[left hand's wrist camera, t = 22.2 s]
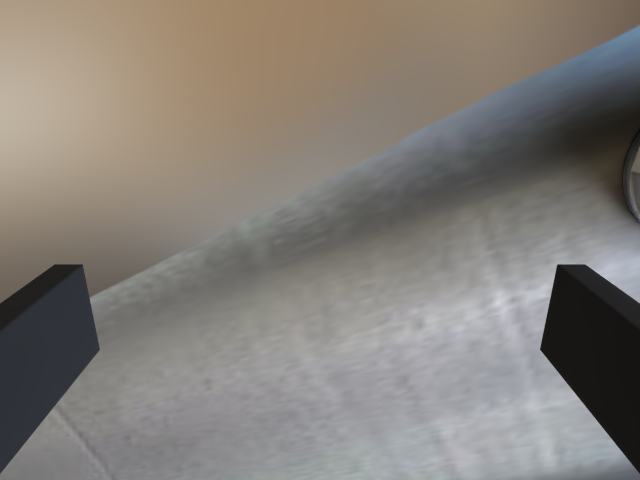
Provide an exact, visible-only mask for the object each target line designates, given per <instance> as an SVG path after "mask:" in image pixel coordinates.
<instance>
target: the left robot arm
mask: <svg viewBox="0 0 640 480" xmlns="http://www.w3.org/2000/svg"><path fill="white" fill-rule="evenodd" d="M623 191H624V196H625V200H626V202H627V205H628V207H629V209H630V211H631V212H632V213H633V215H634V216H635V217H636V218H637V219H638V220H639V221H640V132H639V133H638V135H637V136H636V138H635V140H634V142H633V144H632V146H631V148H630V150H629V152H628V155H627V158H626V161H625V165H624V171H623ZM99 350H100V348H99V343H98V338H97V333H96V328H95V323H94V318H93V313H92V309H91V304H90V299H89V294H88V289H87V284H86V279H85V274H84V269H83V265H54V266H52V267H51V268H49V269H48V270H47V271H45V272H44V273H42V274H41V275H40V276H38V277H37V278H35V279H34V280H33V281H31V282H30V283H28V284H27V285H26V286H24V287H23V288H21V289H20V290H19V291H17V292H16V293H14V294H13V295H12V296H10V297H9V298H7V299H6V300H5V301H3V302H2V303H0V473H1V472H2V471H3V470H4V468H5V467H6V466H7V465H8V463H9V462H10V461H11V460H12V458H13V457H14V456H15V455H16V453H17V452H18V451H19V450H20V448H21V447H22V446H23V445H24V443H25V442H26V441H27V440H28V438H29V437H30V436H31V435H32V433H33V432H34V431H35V430H36V428H37V427H38V426H39V425H40V423H41V422H42V421H43V420H44V418H45V417H46V416H47V415H48V413H49V412H50V411H51V410H52V408H53V407H54V406H55V405H56V403H57V402H58V401H59V400H60V399H61V397H62V396H63V395H64V394H65V392H66V391H67V390H68V389H69V387H70V386H71V385H72V384H73V382H74V381H75V380H76V379H77V377H78V376H79V375H80V374H81V372H82V371H83V370H84V369H85V367H86V366H87V365H88V364H89V362H90V361H91V360H92V359H93V357H94V356H95V355H96V354H97V352H98V351H99ZM540 350H541V351H542V352H543V354H544V355H545V356H546V357H547V359H548V360H549V361H550V362H551V364H552V365H553V366H554V367H555V369H556V370H557V371H558V372H559V374H560V375H561V376H562V377H563V379H564V380H565V381H566V382H567V384H568V385H569V386H570V387H571V389H572V390H573V391H574V392H575V394H576V395H577V396H578V397H579V399H580V400H581V401H582V402H583V404H584V405H585V406H586V407H587V408H588V410H589V411H590V412H591V413H592V415H593V416H594V417H595V418H596V420H597V421H598V422H599V423H600V425H601V426H602V427H603V428H604V430H605V431H606V432H607V433H608V435H609V436H610V437H611V438H612V440H613V441H614V442H615V443H616V445H617V446H618V447H619V448H620V450H621V451H622V452H623V453H624V455H625V456H626V457H627V458H628V460H629V461H630V462H631V463H632V465H633V466H634V467H635V468H636V470H637V471H638V472H639V473H640V303H638V302H637V301H635V300H634V299H633V298H631V297H630V296H628V295H627V294H626V293H624V292H623V291H621V290H620V289H619V288H617V287H616V286H614V285H613V284H612V283H610V282H609V281H607V280H606V279H605V278H603V277H602V276H600V275H599V274H598V273H596V272H595V271H593V270H592V269H591V268H589V267H588V266H586V265H557V269H556V274H555V279H554V284H553V289H552V294H551V299H550V304H549V309H548V313H547V318H546V323H545V328H544V333H543V338H542V343H541V348H540Z"/></svg>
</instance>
